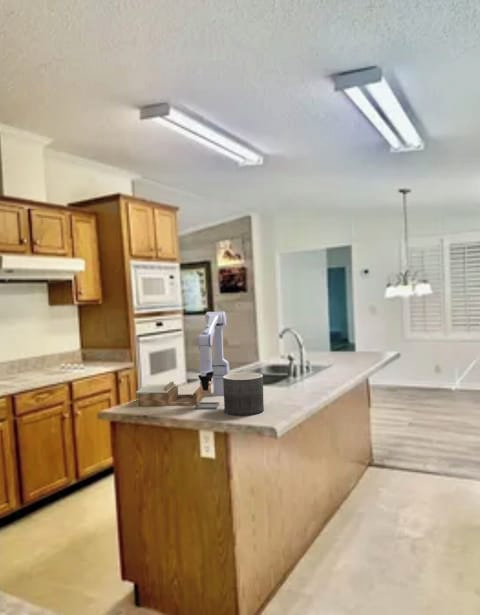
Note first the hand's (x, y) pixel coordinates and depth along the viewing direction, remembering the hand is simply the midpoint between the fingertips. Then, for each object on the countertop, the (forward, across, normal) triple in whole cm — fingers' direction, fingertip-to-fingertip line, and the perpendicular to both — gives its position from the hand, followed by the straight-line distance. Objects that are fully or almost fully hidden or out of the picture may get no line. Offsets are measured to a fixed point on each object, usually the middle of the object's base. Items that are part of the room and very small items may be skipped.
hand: (206, 389), depth 228 cm
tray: (+9, 0, 0) cm, 9 cm away
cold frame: (+9, -12, -20) cm, 25 cm away
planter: (+9, +7, +18) cm, 21 cm away
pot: (+2, 0, 0) cm, 2 cm away
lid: (+2, -12, -28) cm, 30 cm away
